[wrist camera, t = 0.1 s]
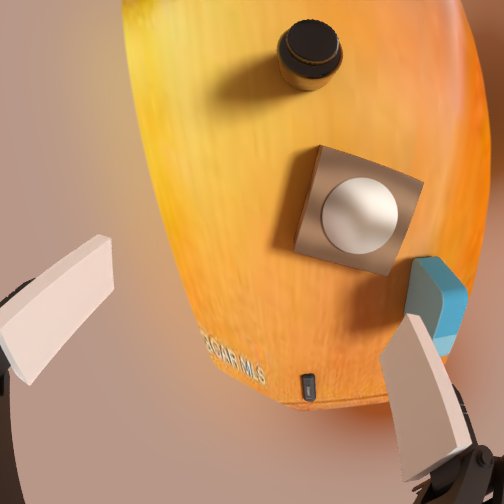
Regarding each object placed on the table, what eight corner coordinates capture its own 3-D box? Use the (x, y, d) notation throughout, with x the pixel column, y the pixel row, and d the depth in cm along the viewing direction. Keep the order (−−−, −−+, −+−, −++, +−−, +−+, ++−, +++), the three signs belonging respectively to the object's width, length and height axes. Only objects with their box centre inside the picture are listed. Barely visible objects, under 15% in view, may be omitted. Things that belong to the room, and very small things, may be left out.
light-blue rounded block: (423, 313, 41) (447, 359, 30) (402, 316, 42) (423, 364, 31) (435, 252, 36) (471, 292, 26) (412, 254, 37) (444, 297, 26)
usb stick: (301, 372, 51) (301, 377, 50) (314, 371, 51) (314, 376, 49) (304, 397, 55) (304, 402, 53) (316, 396, 54) (316, 402, 53)
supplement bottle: (303, 101, 31) (308, 86, 20) (268, 64, 29) (257, 35, 19) (343, 73, 28) (364, 49, 18) (308, 37, 27) (313, -1, 16)
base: (319, 144, 33) (323, 146, 29) (412, 177, 32) (424, 183, 29) (293, 240, 39) (293, 253, 35) (380, 263, 39) (387, 277, 35)
